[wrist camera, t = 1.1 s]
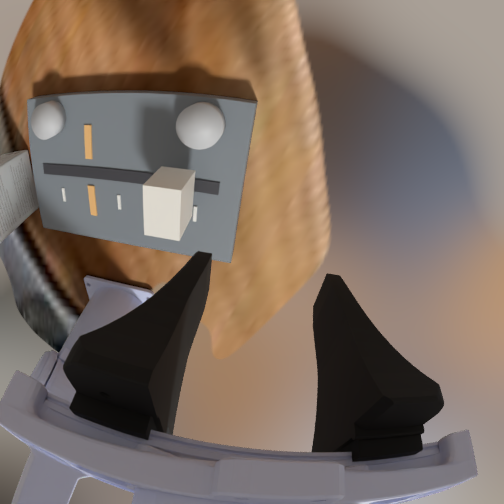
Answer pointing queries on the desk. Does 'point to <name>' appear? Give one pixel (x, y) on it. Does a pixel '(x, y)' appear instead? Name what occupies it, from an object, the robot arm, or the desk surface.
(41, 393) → the robot arm
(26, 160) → the skincare box
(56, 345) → the desk surface
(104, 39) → the desk surface
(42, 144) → the console
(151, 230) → the fader tab
